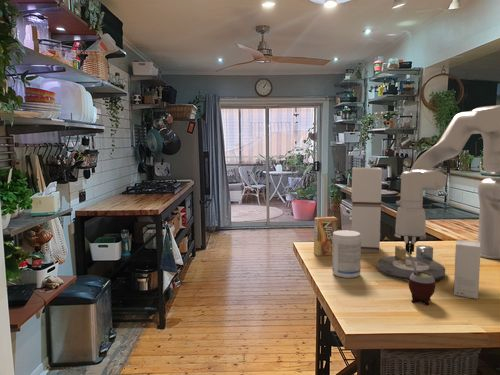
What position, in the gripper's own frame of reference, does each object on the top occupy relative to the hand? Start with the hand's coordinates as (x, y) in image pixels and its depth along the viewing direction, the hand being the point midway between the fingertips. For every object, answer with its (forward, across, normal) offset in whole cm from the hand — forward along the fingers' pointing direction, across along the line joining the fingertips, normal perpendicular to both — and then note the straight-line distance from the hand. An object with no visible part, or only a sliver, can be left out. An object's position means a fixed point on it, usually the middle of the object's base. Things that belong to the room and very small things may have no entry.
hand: (409, 253), depth 140 cm
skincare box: (+5, +17, -22) cm, 28 cm away
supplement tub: (+5, -20, -19) cm, 28 cm away
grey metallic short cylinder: (+5, +5, +10) cm, 12 cm away
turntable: (+5, +1, -8) cm, 9 cm away
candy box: (+5, -32, +2) cm, 33 cm away
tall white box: (+5, -19, +18) cm, 26 cm away
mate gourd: (+5, +4, -34) cm, 34 cm away
